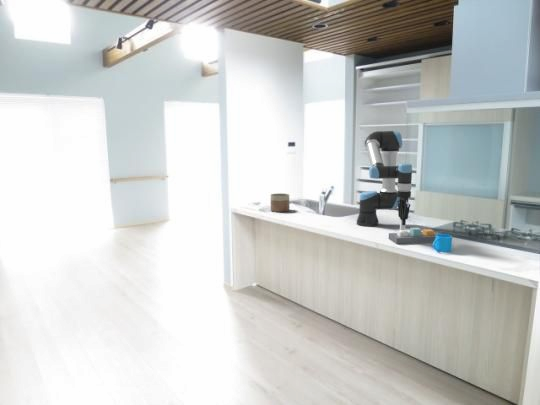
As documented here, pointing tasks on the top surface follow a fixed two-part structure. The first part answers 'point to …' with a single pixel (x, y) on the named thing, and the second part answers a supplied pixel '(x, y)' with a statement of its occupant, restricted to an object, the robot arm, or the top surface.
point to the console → (412, 238)
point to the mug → (443, 243)
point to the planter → (280, 202)
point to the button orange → (428, 232)
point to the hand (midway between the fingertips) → (402, 229)
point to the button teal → (415, 231)
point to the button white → (402, 233)
